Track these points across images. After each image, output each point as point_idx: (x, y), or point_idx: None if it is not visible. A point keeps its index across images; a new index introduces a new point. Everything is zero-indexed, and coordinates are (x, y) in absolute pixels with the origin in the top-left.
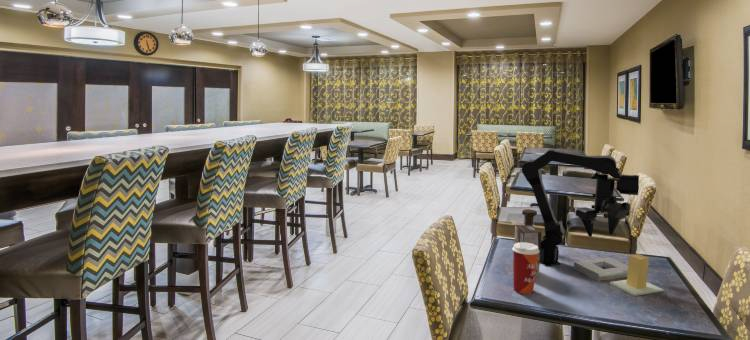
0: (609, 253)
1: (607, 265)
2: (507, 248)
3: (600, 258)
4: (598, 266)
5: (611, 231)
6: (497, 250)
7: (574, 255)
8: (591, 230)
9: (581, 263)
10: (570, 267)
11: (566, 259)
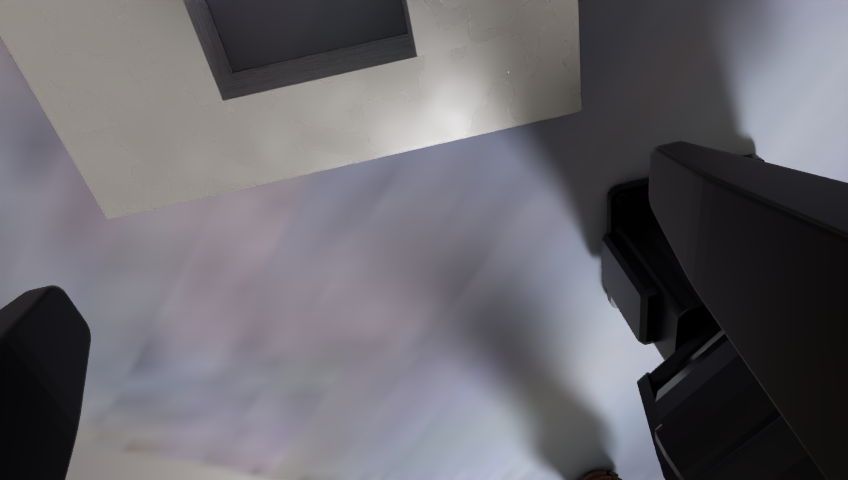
0: None
1: (209, 44)
2: None
3: (230, 190)
4: (309, 63)
5: (37, 342)
6: None
7: (361, 357)
8: (821, 191)
9: (534, 58)
10: None
11: (479, 284)
